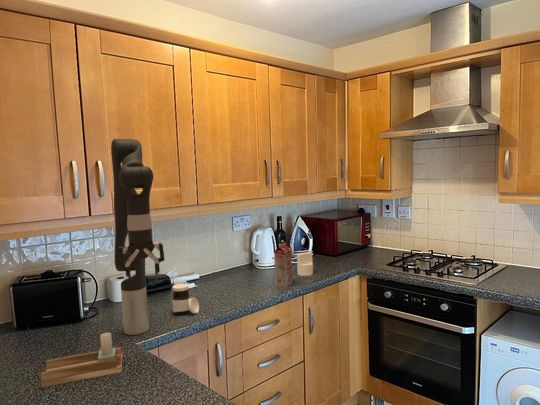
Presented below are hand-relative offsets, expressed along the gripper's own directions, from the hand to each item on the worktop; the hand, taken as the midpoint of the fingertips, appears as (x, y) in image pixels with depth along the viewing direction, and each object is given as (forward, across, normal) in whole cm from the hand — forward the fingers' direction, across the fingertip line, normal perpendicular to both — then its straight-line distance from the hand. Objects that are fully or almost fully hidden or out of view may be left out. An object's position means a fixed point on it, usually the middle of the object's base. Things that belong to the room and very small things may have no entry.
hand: (143, 275), depth 129 cm
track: (+28, +19, +3) cm, 34 cm away
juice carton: (+28, -71, -55) cm, 94 cm away
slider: (+26, +12, +3) cm, 29 cm away
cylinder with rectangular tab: (+29, -90, -69) cm, 117 cm away
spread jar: (+28, -17, -36) cm, 49 cm away
